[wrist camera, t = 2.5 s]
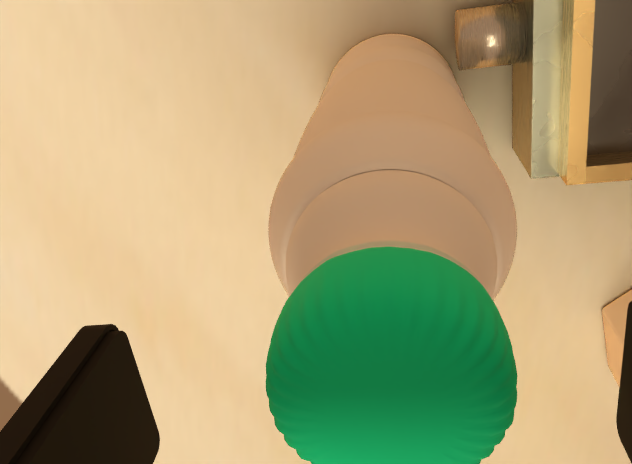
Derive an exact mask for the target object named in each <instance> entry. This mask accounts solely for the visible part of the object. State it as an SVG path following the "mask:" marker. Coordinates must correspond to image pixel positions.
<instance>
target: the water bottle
mask: <svg viewBox="0 0 632 464" xmlns="http://www.w3.org/2000/svg"><path fill="white" fill-rule="evenodd" d="M516 237H517V223H516V213H515V208H514V203H513V199H512V196H511V193H510V190H509V187H508V185H507V183H506V181H505V179H504V177H503V175H502V173H501V171H500V169H499V168H498V166H497V165H496V163H495V162H494V161H493V159H492V158H491V156H490V153H489V150H488V148H487V145H486V143H485V140H484V138H483V135H482V133H481V131H480V129H479V127H478V125H477V123H476V121H475V119H474V117H473V115H472V113H471V112H470V110H469V108H468V107H467V105H466V103H465V101H464V98H463V95H462V92H461V90H460V88H459V86H458V84H457V83H456V80H455V77H454V75H453V73H452V70H451V69H450V67H449V65H448V63H447V62H446V60H445V59H444V58H443V57H442V55H441V54H440V53H439V52H438V51H437V50H436V49H434V48H433V47H432V46H430V45H429V44H427V43H426V42H424V41H422V40H420V39H418V38H415V37H412V36H408V35H403V34H384V35H378V36H375V37H371V38H369V39H366V40H364V41H362V42H360V43H359V44H357V45H356V46H354V47H353V48H351V49H350V50H349V51H348V52H347V53H346V54H345V55H344V56H343V57H342V58H341V59H340V60H339V62H338V63H337V65H336V66H335V68H334V70H333V72H332V74H331V76H330V78H329V81H328V83H327V86H326V87H325V89H324V91H323V93H322V96H321V98H320V101H319V104H318V106H317V108H316V110H315V111H314V113H313V115H312V117H311V119H310V120H309V122H308V124H307V126H306V128H305V131H304V133H303V135H302V137H301V139H300V142H299V145H298V147H297V150H296V152H295V155H294V158H293V160H292V161H291V162H290V164H289V165H288V167H287V168H286V170H285V172H284V173H283V175H282V177H281V179H280V181H279V183H278V186H277V188H276V191H275V194H274V197H273V200H272V204H271V209H270V215H269V245H270V251H271V256H272V260H273V263H274V267H275V270H276V272H277V275H278V277H279V279H280V281H281V283H282V285H283V287H284V289H285V291H286V292H287V294H288V295H289V298H288V300H287V301H286V303H285V305H284V307H283V309H282V311H281V314H280V316H279V318H278V320H277V323H276V325H275V328H274V332H273V335H272V338H271V344H270V348H269V351H268V356H267V362H266V375H267V377H266V392H267V396H268V398H269V408H270V411H271V413H272V415H273V416H274V419H275V425H276V427H277V429H278V430H279V431H280V432H281V433H283V434H284V440H285V441H286V442H287V444H288V445H289V446H290V447H292V448H294V449H296V451H297V454H298V455H299V456H300V458H301V459H304V460H307V461H310V462H311V463H312V464H480V461H481V459H483V458H486V457H489V456H490V454H491V453H492V452H493V451H494V446H495V445H497V444H499V443H500V442H501V441H502V439H503V438H504V436H505V430H506V429H508V428H509V427H510V425H511V424H512V422H513V417H514V408H515V406H516V402H517V389H516V385H517V371H516V365H515V360H514V356H513V351H512V345H511V342H510V339H509V335H508V332H507V330H506V327H505V325H504V323H503V320H502V318H501V316H500V314H499V311H498V309H497V307H496V305H495V303H494V302H493V300H494V299H495V297H496V296H497V294H498V293H499V291H500V289H501V288H502V286H503V284H504V282H505V280H506V278H507V275H508V273H509V270H510V267H511V264H512V261H513V257H514V253H515V247H516Z"/></svg>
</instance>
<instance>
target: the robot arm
mask: <svg viewBox="0 0 632 464" xmlns="http://www.w3.org/2000/svg"><path fill="white" fill-rule="evenodd" d="M617 429H618V434H619V437H620V440H621V442H622V444H623V446H624V448H625V450H626V452H627V455H628V457H629V459H630V461H631V463H632V301H631V302H629V304H628V309H627V319H626V329H625V339H624V348H623V358H622V368H621V378H620V388H619V398H618V408H617ZM159 443H160V438H159V432H158V429H157V425H156V422H155V419H154V416H153V413H152V410H151V407H150V404H149V401H148V398H147V395H146V392H145V389H144V386H143V383H142V380H141V377H140V374H139V370H138V367H137V364H136V361H135V358H134V355H133V352H132V349H131V346H130V343H129V340H128V337H127V335H126V333H125V332H123V331H119V330H118V328H117V327H116V326H115V325H113V324H107V325H91V326H84V327H82V328H81V329H80V330H79V332H78V333H77V334H76V336H75V337H74V338H73V339H72V341H71V342H70V343H69V344H68V346H67V347H66V348H65V350H64V351H63V352H62V353H61V355H60V356H59V357H58V359H57V360H56V361H55V362H54V364H53V365H52V366H51V368H50V369H49V370H48V371H47V373H46V374H45V375H44V376H43V378H42V379H41V380H40V382H39V383H38V384H37V385H36V387H35V388H34V389H33V391H32V392H31V393H30V394H29V396H28V397H27V398H26V400H25V401H24V402H23V403H22V405H21V406H20V407H19V409H18V410H17V411H16V412H15V414H14V415H13V416H12V418H11V419H10V420H9V421H8V423H7V424H6V425H5V426H4V428H3V429H2V430H1V432H0V464H153V462H154V460H155V457H156V455H157V453H158V450H159Z"/></svg>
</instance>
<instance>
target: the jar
mask: <svg viewBox="0 0 632 464" xmlns="http://www.w3.org/2000/svg"><path fill="white" fill-rule="evenodd" d="M631 301H632V289H631V290H630V291H628V292H627V293H625V294H624V295H622V296H621V297H619V298H618V299H616V300H614V301H613V302H611V303H610V304H608V305H607V306H605V307H604V308H603V309H602V315H603V324H604V332H605V341H606V350H607V359H608V366H609V368H610V370H611V372H612V374H613V376H614V378H615V380H616V382H617V384H618V386H619V388H620V378H621V368H622V358H623V348H624V339H625V329H626V319H627V309H628V304H629V302H631Z"/></svg>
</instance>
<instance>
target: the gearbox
mask: <svg viewBox="0 0 632 464" xmlns="http://www.w3.org/2000/svg"><path fill="white" fill-rule="evenodd" d="M455 46H456V58H457V65H458V69H459V70H466V69H475V68H484V67H493V66H501V65H510V64H512V148H513V150H514V151H515V153H516V155H517V156H518V158H519V160H520V161H521V163H522V164H523V166H524V168H525V169H526V171H527V173H528V174H529V176H530V178H531V179H533V178H545V177H557V176H560V177H561V178H562V180H563V181H564V182H565V184H566V185H574V184H587V183H599V182H611V181H623V180H632V0H513V3H507V4H500V5H492V6H484V7H477V8H469V9H461V10H456V13H455Z"/></svg>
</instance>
